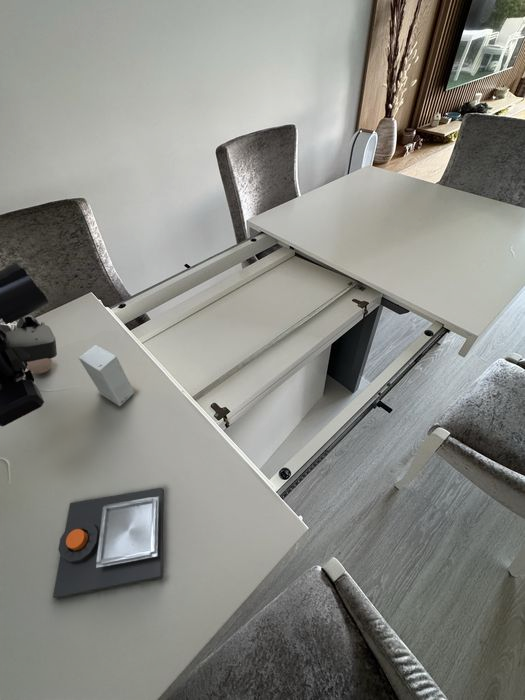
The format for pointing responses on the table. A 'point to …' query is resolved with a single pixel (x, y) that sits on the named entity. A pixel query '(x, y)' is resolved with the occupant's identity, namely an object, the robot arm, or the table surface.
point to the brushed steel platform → (128, 532)
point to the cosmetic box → (107, 374)
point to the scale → (81, 564)
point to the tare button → (76, 539)
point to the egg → (39, 365)
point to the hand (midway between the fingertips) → (31, 400)
